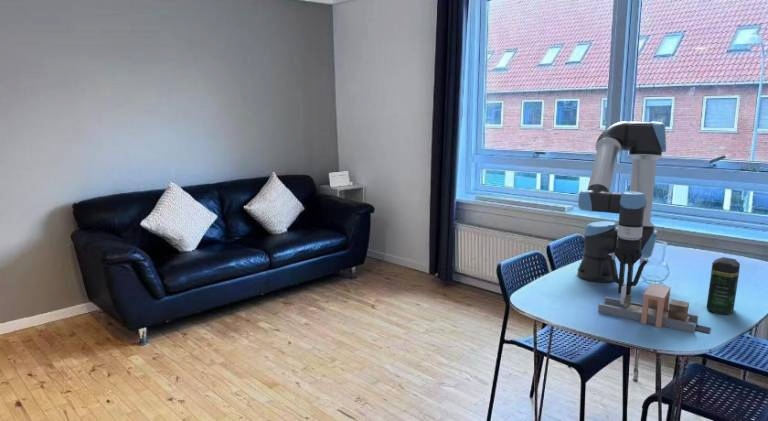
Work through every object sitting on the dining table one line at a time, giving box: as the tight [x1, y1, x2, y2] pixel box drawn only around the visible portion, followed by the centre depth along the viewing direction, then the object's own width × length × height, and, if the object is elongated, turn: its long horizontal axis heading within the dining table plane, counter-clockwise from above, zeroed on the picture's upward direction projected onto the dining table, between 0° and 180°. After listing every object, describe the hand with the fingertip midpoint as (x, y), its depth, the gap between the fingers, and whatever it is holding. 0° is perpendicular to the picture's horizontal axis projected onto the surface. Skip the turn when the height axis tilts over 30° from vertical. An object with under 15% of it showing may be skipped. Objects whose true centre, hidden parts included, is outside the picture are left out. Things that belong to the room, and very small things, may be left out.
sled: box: [623, 293, 690, 322], centre depth 173 cm, size 19×6×6 cm, turn 53°
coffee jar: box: [706, 256, 741, 315], centre depth 180 cm, size 10×8×19 cm
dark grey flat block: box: [694, 324, 712, 334], centre depth 166 cm, size 4×5×1 cm
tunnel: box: [640, 283, 671, 329], centre depth 173 cm, size 6×12×10 cm, turn 143°
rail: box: [597, 296, 699, 334], centre depth 176 cm, size 29×9×3 cm, turn 53°
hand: (623, 303), depth 180 cm, fingers closed
